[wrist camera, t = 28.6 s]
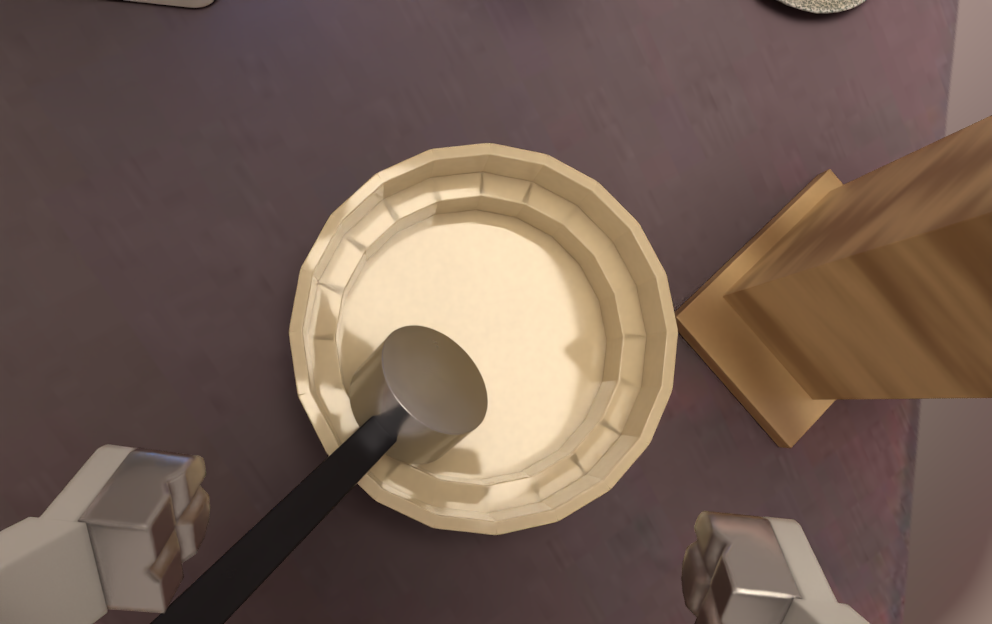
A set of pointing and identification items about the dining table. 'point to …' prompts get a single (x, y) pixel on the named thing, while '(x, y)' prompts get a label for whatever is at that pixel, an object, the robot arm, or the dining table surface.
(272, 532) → the black handled spatula
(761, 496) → the dining table surface
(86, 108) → the dining table surface
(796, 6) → the pastry
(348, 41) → the dining table surface
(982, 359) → the wooden column stand
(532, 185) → the bowl
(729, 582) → the robot arm
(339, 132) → the dining table surface
